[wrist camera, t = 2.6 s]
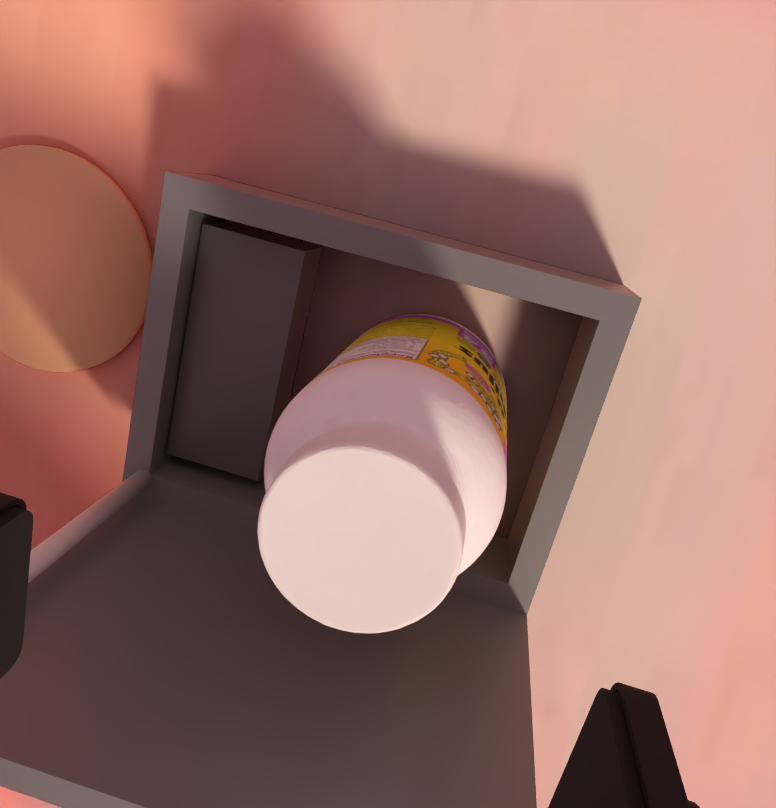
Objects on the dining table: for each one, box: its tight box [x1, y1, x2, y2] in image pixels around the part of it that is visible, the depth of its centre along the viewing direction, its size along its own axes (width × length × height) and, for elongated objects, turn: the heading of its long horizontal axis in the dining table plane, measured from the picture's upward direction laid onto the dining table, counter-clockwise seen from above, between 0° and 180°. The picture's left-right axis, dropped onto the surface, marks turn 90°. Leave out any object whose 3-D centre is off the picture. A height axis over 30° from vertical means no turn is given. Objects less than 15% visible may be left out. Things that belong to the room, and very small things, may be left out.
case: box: [0, 171, 642, 808], centre depth 21 cm, size 16×13×16 cm
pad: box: [0, 145, 153, 373], centre depth 28 cm, size 9×9×1 cm
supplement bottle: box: [257, 314, 507, 633], centre depth 22 cm, size 7×7×13 cm
